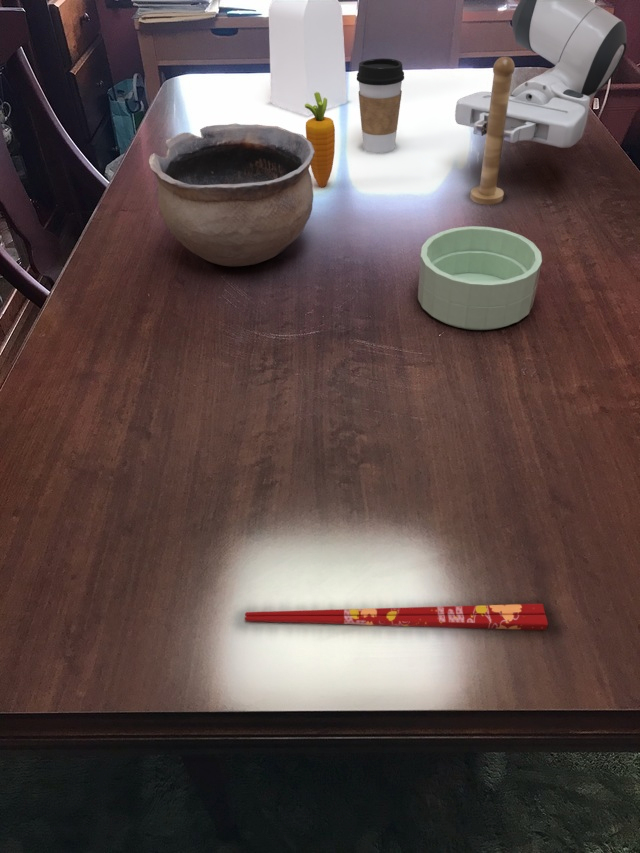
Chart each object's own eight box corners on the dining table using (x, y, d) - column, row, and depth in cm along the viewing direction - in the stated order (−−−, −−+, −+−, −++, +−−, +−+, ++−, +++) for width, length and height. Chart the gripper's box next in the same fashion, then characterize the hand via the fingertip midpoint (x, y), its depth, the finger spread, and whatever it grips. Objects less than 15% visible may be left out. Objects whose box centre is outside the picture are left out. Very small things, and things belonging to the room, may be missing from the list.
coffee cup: (347, 152, 129) (347, 64, 119) (371, 137, 134) (372, 52, 124) (386, 160, 125) (389, 71, 115) (409, 145, 130) (413, 58, 120)
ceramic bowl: (222, 208, 113) (208, 113, 103) (342, 231, 105) (340, 131, 95) (139, 272, 98) (114, 168, 88) (272, 304, 91) (261, 195, 81)
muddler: (489, 189, 114) (508, 49, 100) (509, 201, 111) (531, 58, 97) (463, 197, 113) (479, 55, 99) (483, 208, 109) (501, 64, 95)
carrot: (331, 195, 115) (329, 100, 105) (303, 192, 116) (298, 98, 106) (340, 183, 119) (338, 90, 108) (313, 180, 120) (309, 88, 110)
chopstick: (246, 612, 56) (244, 605, 56) (541, 609, 56) (543, 602, 55) (243, 633, 55) (242, 627, 54) (546, 631, 54) (548, 624, 54)
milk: (271, 105, 150) (260, -37, 133) (310, 92, 156) (304, -46, 138) (308, 117, 143) (301, -30, 126) (347, 103, 149) (346, -40, 131)
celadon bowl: (485, 263, 97) (492, 216, 92) (556, 313, 87) (567, 264, 82) (396, 291, 92) (399, 243, 88) (460, 347, 83) (466, 296, 78)
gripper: (482, 76, 115) (436, 99, 107) (600, 98, 105) (559, 125, 97) (478, 115, 119) (433, 140, 111) (591, 140, 109) (550, 169, 101)
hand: (492, 133), depth 104 cm, fingers open, 4 cm apart
